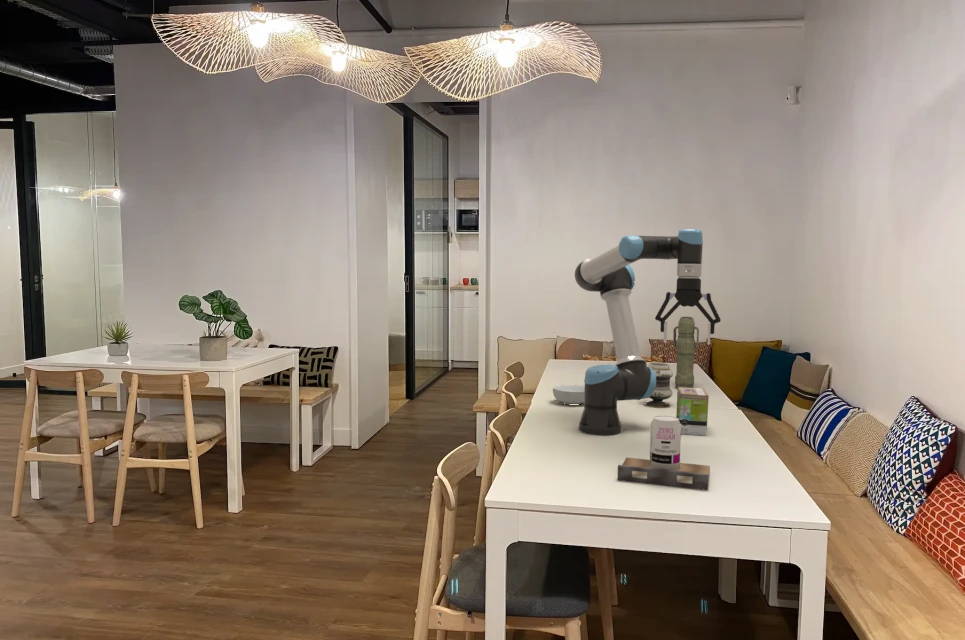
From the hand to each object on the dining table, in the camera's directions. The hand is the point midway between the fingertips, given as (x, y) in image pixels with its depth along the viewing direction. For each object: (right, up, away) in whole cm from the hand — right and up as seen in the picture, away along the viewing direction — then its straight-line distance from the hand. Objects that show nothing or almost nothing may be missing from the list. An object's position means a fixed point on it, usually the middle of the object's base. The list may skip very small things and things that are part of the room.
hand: (686, 343), depth 229 cm
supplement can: (-15, -35, -29) cm, 48 cm away
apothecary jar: (+9, -29, +74) cm, 80 cm away
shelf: (-14, -37, -28) cm, 48 cm away
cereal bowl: (-27, -29, +76) cm, 86 cm away
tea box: (+10, -33, +29) cm, 45 cm away
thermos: (+32, -26, +115) cm, 122 cm away
